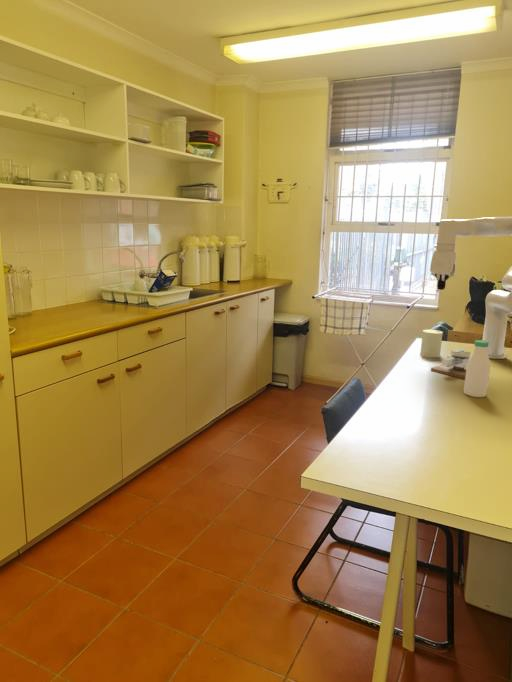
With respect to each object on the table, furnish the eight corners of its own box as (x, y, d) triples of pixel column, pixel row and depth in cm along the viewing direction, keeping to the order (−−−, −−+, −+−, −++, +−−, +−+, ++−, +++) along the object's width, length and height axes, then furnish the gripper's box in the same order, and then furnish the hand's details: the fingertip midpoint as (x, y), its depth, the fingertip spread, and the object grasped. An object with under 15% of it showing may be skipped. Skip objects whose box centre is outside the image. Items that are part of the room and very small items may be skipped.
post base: (450, 364, 225) (452, 349, 223) (485, 373, 213) (488, 357, 212) (430, 370, 215) (432, 354, 213) (466, 379, 203) (468, 363, 201)
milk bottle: (488, 398, 181) (496, 344, 177) (465, 396, 182) (472, 342, 178) (483, 392, 188) (490, 339, 184) (461, 390, 190) (468, 338, 185)
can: (443, 357, 237) (446, 332, 234) (423, 357, 237) (426, 332, 234) (436, 352, 246) (439, 328, 243) (417, 352, 246) (420, 328, 243)
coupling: (436, 366, 210) (438, 352, 208) (456, 361, 218) (457, 348, 217) (452, 370, 204) (454, 356, 203) (472, 365, 213) (473, 351, 211)
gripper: (425, 247, 227) (421, 287, 232) (456, 249, 216) (451, 291, 221) (434, 247, 232) (430, 287, 236) (465, 248, 221) (460, 290, 225)
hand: (440, 289), depth 228 cm, fingers closed
